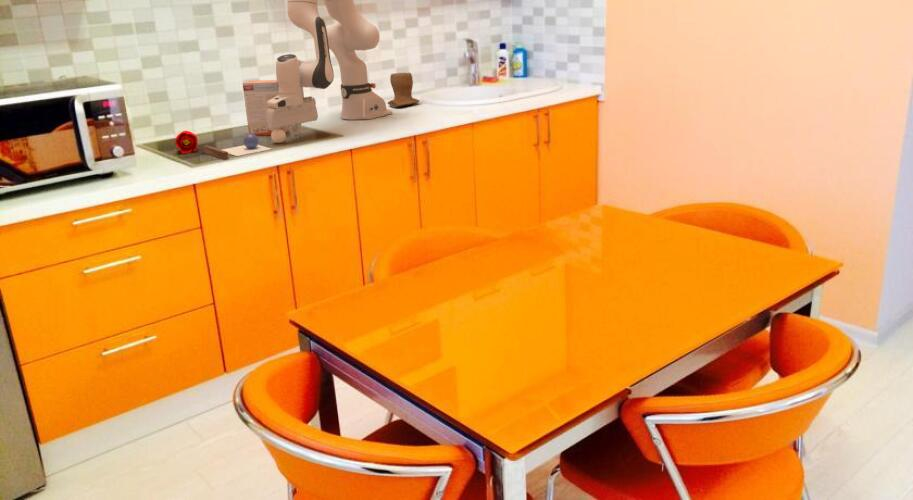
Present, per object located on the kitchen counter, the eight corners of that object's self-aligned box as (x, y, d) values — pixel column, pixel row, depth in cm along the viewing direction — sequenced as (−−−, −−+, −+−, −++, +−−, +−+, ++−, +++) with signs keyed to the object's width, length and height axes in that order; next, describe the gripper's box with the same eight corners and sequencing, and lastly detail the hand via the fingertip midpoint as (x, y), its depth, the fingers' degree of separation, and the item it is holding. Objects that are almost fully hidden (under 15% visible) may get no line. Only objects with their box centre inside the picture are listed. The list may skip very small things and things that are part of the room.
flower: (200, 133, 304) (200, 137, 296) (194, 153, 305) (194, 157, 298) (179, 126, 301) (178, 130, 293) (173, 146, 302) (172, 150, 295)
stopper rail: (208, 152, 297) (207, 145, 296) (228, 158, 286) (227, 151, 285) (204, 152, 296) (203, 146, 295) (224, 159, 285) (223, 152, 284)
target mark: (253, 143, 307) (253, 143, 307) (272, 149, 297) (272, 148, 297) (219, 150, 299) (219, 150, 299) (237, 156, 289) (236, 155, 289)
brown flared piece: (405, 101, 381) (403, 69, 376) (423, 104, 373) (421, 71, 368) (381, 106, 371) (378, 73, 366) (398, 109, 363) (396, 75, 358)
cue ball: (266, 137, 306) (277, 146, 309) (271, 137, 302) (283, 145, 305) (273, 125, 308) (285, 134, 310) (279, 125, 303) (291, 133, 306)
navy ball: (238, 136, 298) (243, 150, 301) (245, 138, 294) (250, 152, 297) (251, 130, 301) (256, 144, 303) (258, 132, 297) (263, 146, 299)
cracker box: (287, 132, 326) (281, 79, 319) (283, 135, 320) (277, 81, 313) (253, 132, 327) (247, 80, 320) (248, 135, 322) (241, 82, 315)
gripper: (310, 94, 314) (313, 130, 319) (262, 102, 302) (267, 139, 306) (319, 96, 310) (322, 132, 314) (271, 104, 297) (275, 141, 302)
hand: (294, 135), depth 310 cm, fingers closed
